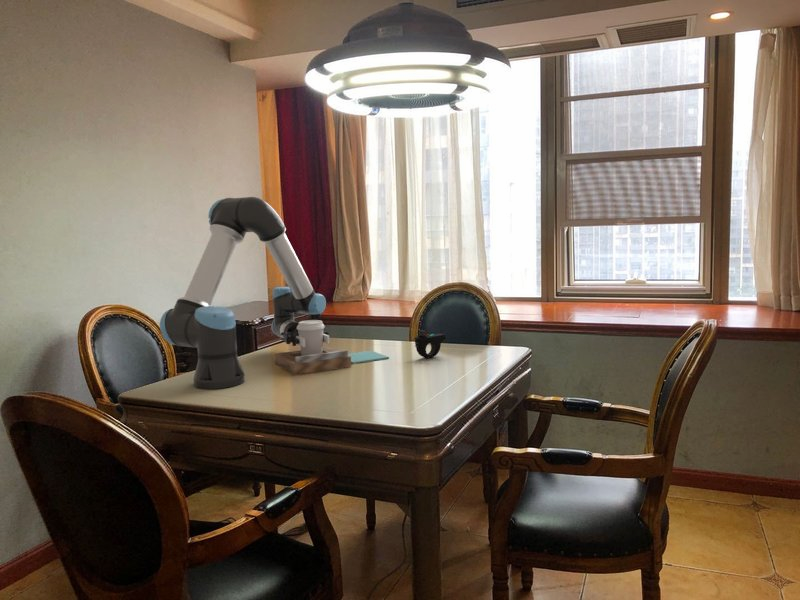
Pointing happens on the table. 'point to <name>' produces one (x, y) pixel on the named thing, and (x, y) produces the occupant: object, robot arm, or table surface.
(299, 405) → the table surface
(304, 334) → the coffee cup
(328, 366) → the cup holder
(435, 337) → the controller
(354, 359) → the pad
